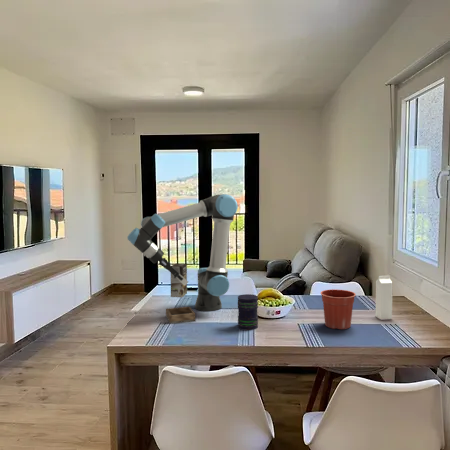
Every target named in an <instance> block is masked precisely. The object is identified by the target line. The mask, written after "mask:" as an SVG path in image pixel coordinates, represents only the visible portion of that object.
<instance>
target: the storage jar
mask: <svg viewBox="0 0 450 450" xmlns="http://www.w3.org/2000/svg"><path fill="white" fill-rule="evenodd" d="M258 297H259V296H258V295H256V294H250V293H248V294H239V295H237V309H238V315H237V328H238V329H240V330H243V331H253V330H254V331H255V330H257V329H258V328H259V325H258V324H259V316H258V308H259V301H258Z"/></svg>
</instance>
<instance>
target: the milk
mask: <svg viewBox="0 0 450 450" xmlns="http://www.w3.org/2000/svg"><path fill="white" fill-rule="evenodd" d="M390 276H391V275H390V274H388V275H378V278H377V279H376V280H375V317H376V318H377V319H379V320H380V321H381V320H382V321H383V320H385V321H386V320H392V319H393V281H392V279H391V277H390Z"/></svg>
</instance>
